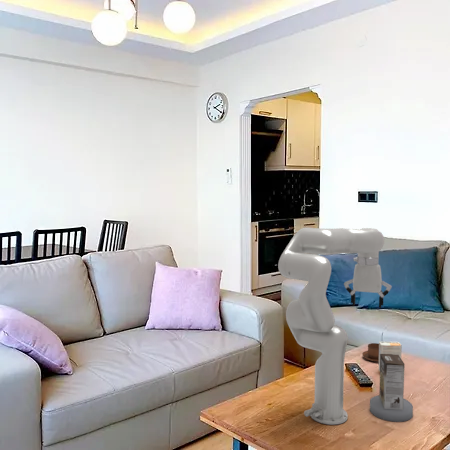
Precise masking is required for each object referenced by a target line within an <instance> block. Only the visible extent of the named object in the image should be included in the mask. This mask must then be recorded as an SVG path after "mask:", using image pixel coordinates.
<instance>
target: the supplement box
mask: <svg viewBox="0 0 450 450" xmlns="http://www.w3.org/2000/svg"><path fill="white" fill-rule="evenodd" d="M378 344H379V362H378V373H379V374H380V354H393V355H399V357H400V358H401V359H402V344H401V343H400V342H399V341H384V340H383V341H382V340H381V341H378Z"/></svg>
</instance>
